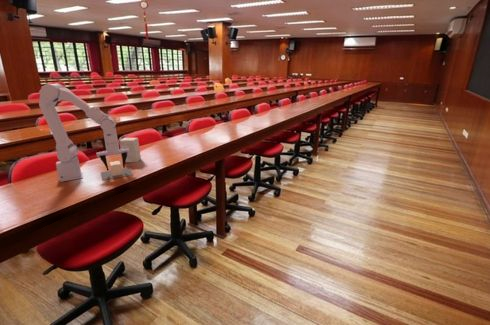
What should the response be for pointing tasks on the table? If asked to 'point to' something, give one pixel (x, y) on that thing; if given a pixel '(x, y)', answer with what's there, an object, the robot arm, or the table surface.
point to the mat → (108, 175)
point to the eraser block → (116, 168)
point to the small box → (131, 149)
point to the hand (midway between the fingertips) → (115, 168)
